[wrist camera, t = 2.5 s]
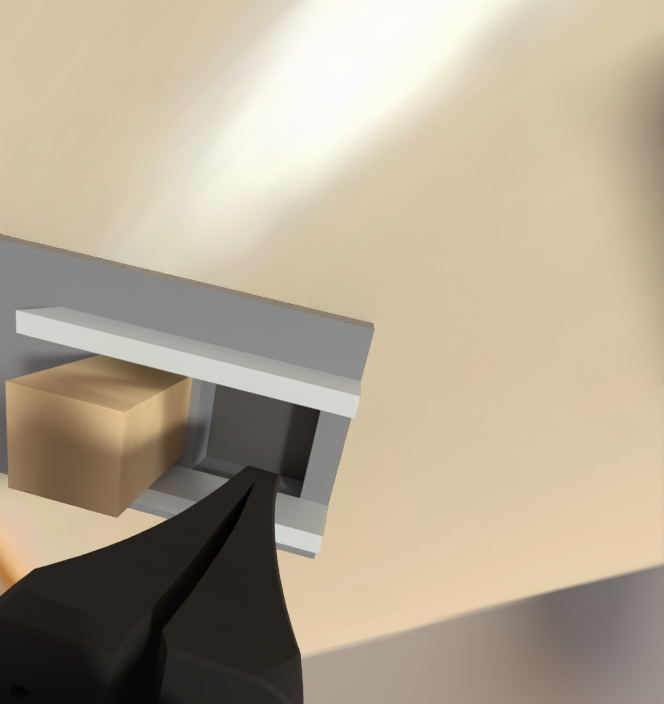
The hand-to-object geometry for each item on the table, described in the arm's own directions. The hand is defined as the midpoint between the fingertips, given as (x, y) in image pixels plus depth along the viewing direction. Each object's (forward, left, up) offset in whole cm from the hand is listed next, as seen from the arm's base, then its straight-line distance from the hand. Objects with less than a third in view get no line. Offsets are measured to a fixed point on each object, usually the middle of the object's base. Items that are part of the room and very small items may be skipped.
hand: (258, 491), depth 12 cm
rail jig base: (-7, +4, -6) cm, 10 cm away
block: (-6, +4, -4) cm, 8 cm away
